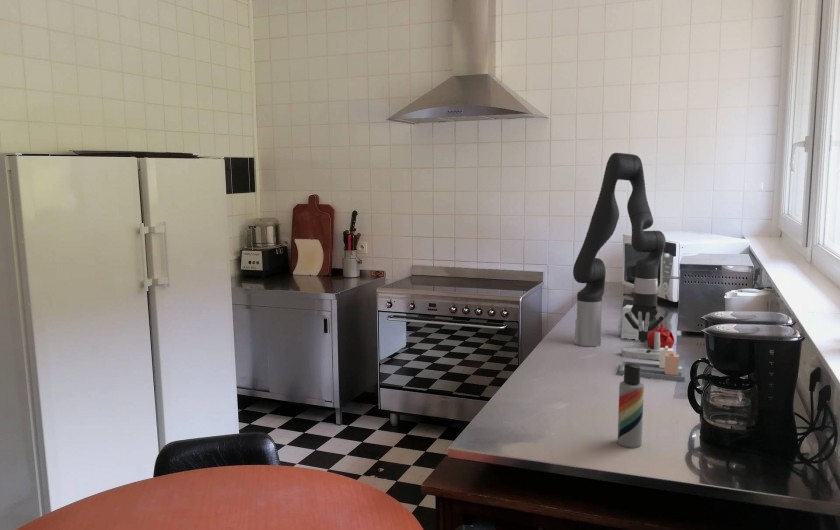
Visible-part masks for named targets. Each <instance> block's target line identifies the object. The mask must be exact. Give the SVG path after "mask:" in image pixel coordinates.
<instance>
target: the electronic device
mask: <svg viewBox="0 0 840 530" xmlns="http://www.w3.org/2000/svg"><path fill="white" fill-rule="evenodd" d="M621 356H622V357H624V356H625V358H630V357H633V358H632V359H639V358H640V359H639V360H649V361H652V360H653V361H659V360H660V332H655V341H654V349H653V348H652V349H649V348H648V349H645V348H633V347H624V348H621Z"/></svg>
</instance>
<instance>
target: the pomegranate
mask: <svg viewBox="0 0 840 530" xmlns="http://www.w3.org/2000/svg"><path fill="white" fill-rule="evenodd" d="M659 325H660V326H659V327H657V326H656V327H655V328H654V330H650V331H648V339H647V341H646V343H647V344H648V346H649V347H650V348H651V349H652V350H653V349H654V341H655V332H660V348H665V346H668V348H671V349H673V347H674V345H675V337H674V335H673V332H672V331H671V330H669V329H667V327H664V323H659Z"/></svg>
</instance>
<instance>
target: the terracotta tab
mask: <svg viewBox="0 0 840 530" xmlns="http://www.w3.org/2000/svg"><path fill="white" fill-rule="evenodd" d="M679 363H680V354H675V352H674V351H673V352H671V354H666V356H665V374H669V375H678V367H679V365H680V364H679Z"/></svg>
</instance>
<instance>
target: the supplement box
mask: <svg viewBox="0 0 840 530" xmlns="http://www.w3.org/2000/svg"><path fill="white" fill-rule="evenodd" d="M632 306H633V304H626V305H625V306H623V307H622V309H621V331H620V333H621V334H620V339H623V338H627V339H626V340H631V339H635V340H634V341H640V340H639V339H638V337H639V331H638V330H637V329H634V328H633V327H632V325H631V324H630V323H629V321H628V320H627V319H626V317H625V313H626V312H629V311H630V310H631V308H632ZM632 315H633V313H632ZM632 318H633V320H634V321H635V322H636V324H637V325H638V320H637V319H636V318H635V316H634V315H633V316H632ZM644 326H645V321H643V328H644Z"/></svg>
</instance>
